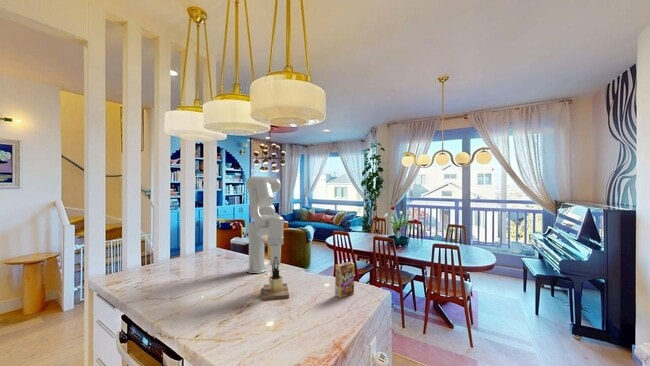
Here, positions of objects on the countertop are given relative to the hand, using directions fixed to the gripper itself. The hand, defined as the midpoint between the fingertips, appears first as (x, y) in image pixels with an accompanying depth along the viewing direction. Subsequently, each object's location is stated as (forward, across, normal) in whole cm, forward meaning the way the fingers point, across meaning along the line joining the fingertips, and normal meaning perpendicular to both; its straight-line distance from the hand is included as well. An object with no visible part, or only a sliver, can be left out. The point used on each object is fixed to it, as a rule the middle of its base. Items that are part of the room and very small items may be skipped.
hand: (275, 275), depth 130 cm
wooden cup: (+7, +1, 0) cm, 7 cm away
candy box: (+8, +11, +33) cm, 36 cm away
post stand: (+9, +1, 0) cm, 9 cm away
